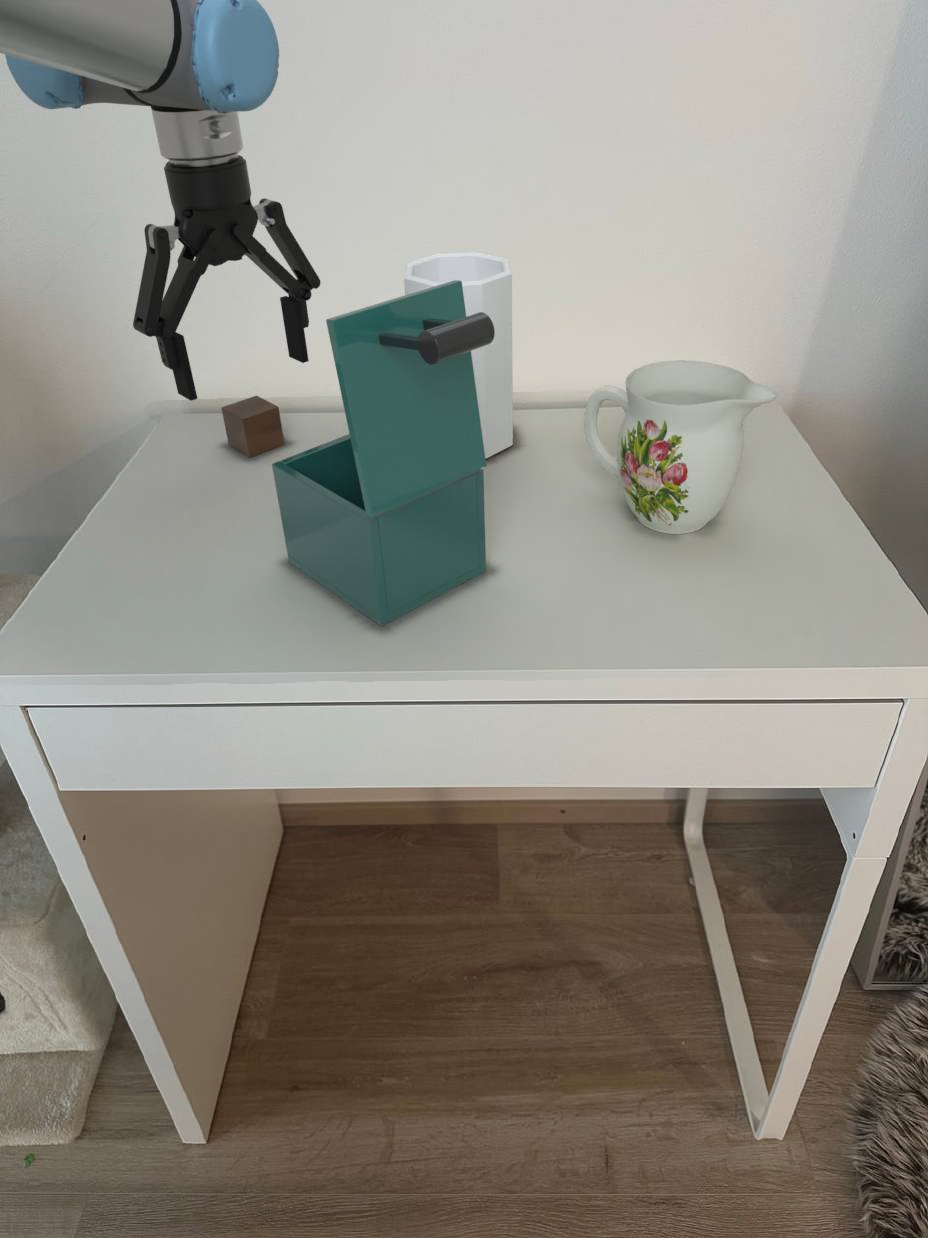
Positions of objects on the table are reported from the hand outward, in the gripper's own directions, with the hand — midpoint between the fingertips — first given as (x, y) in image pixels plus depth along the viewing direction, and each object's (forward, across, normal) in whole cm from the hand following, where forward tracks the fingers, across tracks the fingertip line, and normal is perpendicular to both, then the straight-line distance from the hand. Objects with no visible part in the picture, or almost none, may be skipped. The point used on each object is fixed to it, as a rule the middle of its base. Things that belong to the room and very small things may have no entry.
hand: (245, 377), depth 99 cm
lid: (-10, -5, -35) cm, 37 cm away
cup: (+8, +17, -16) cm, 24 cm away
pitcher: (+8, +19, -41) cm, 46 cm away
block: (+8, 0, 0) cm, 8 cm away
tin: (+8, -5, -30) cm, 31 cm away
